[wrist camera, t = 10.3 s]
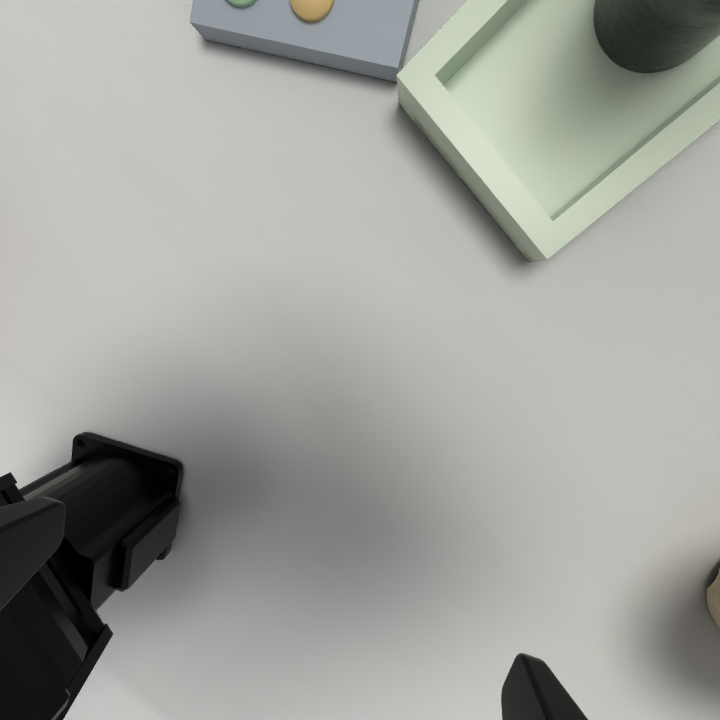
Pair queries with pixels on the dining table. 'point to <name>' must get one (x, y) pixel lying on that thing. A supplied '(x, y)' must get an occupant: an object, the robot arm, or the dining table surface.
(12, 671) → the robot arm
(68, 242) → the dining table surface
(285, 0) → the checker pad
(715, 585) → the flower pot
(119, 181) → the dining table surface
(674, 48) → the cell
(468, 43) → the trough
